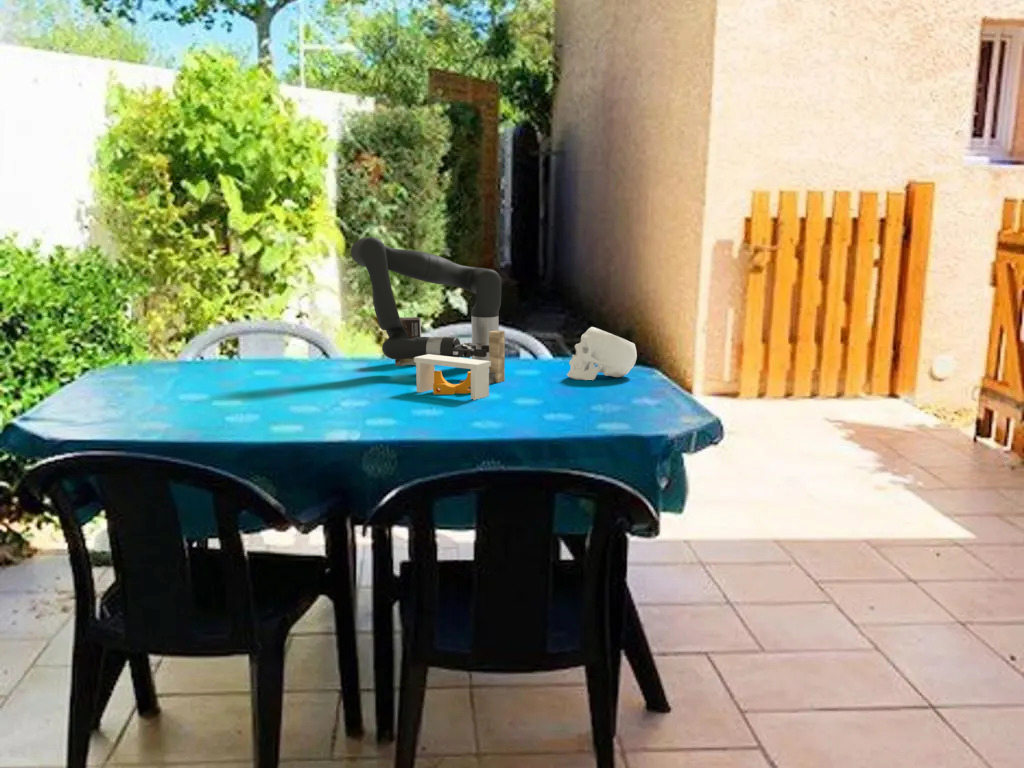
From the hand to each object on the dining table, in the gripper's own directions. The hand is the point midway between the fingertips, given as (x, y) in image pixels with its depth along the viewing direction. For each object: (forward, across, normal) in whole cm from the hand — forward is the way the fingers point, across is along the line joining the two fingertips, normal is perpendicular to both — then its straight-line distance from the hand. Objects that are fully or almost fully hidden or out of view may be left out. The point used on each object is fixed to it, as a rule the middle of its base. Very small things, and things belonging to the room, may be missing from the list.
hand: (491, 351), depth 321 cm
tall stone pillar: (0, -8, +10) cm, 13 cm away
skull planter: (+32, +18, +10) cm, 37 cm away
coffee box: (-37, +20, +10) cm, 43 cm away
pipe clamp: (-4, -21, +10) cm, 23 cm away
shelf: (-4, -23, +10) cm, 25 cm away
